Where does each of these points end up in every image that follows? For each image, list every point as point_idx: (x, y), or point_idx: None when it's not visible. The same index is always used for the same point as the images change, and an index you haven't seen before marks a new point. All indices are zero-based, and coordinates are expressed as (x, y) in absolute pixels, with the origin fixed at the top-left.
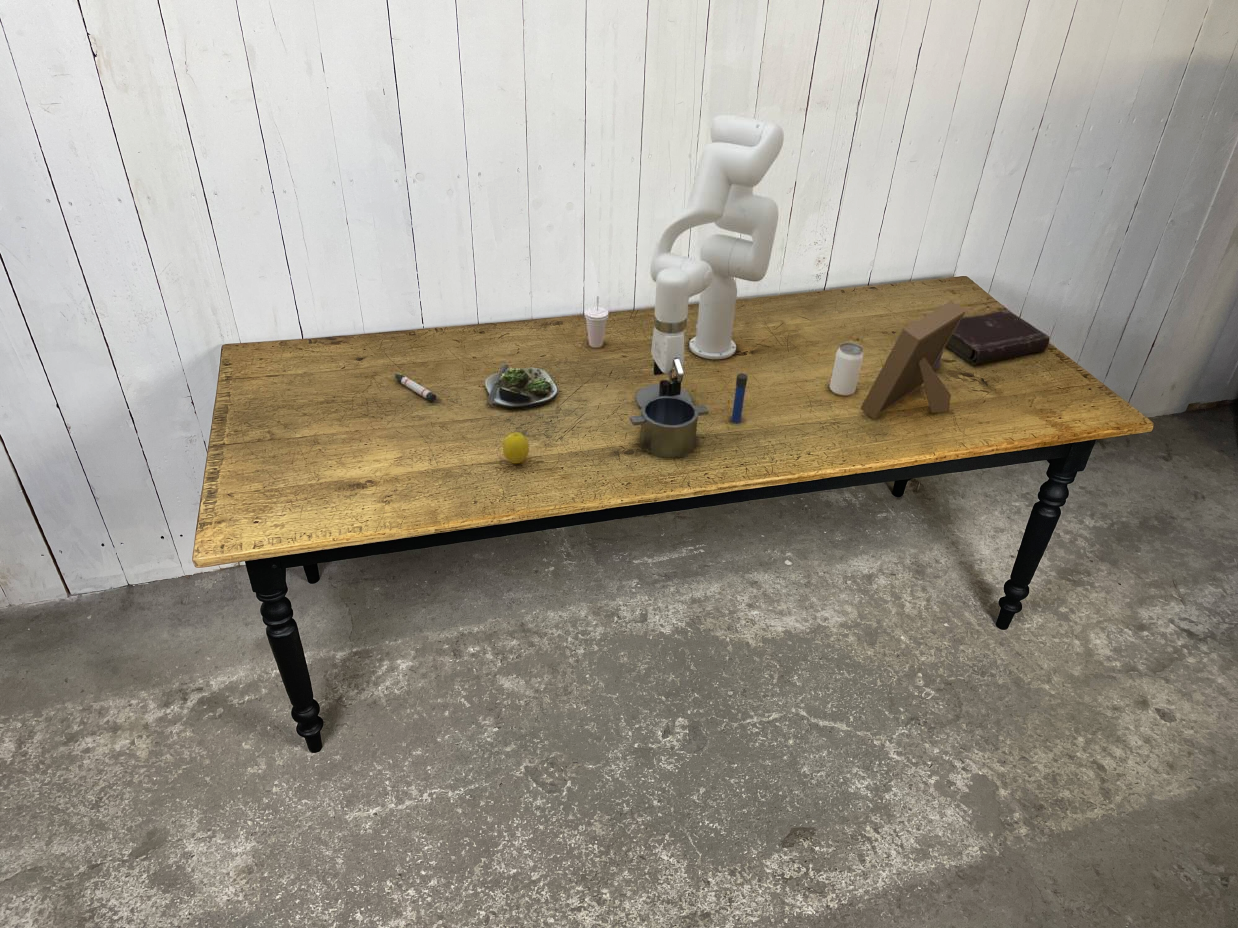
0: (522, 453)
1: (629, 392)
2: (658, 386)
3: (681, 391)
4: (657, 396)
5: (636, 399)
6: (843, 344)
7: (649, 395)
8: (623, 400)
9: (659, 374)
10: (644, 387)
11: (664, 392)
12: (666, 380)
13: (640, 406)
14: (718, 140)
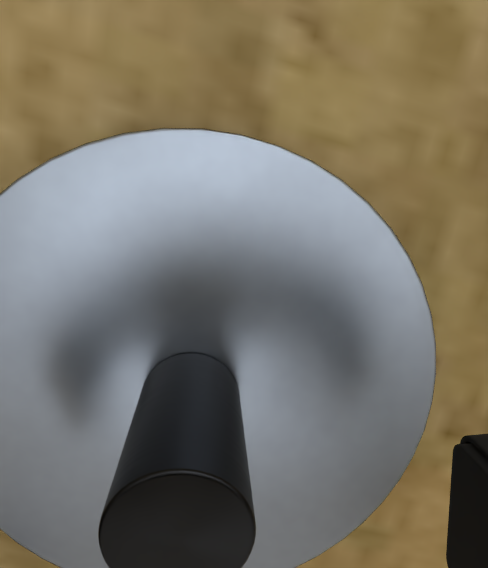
0: None
1: (420, 125)
2: (393, 397)
3: (271, 547)
4: (232, 351)
5: (220, 132)
6: None
7: (266, 284)
8: (300, 19)
9: (453, 494)
10: (413, 273)
11: (124, 446)
12: (235, 565)
13: (92, 142)
14: None
